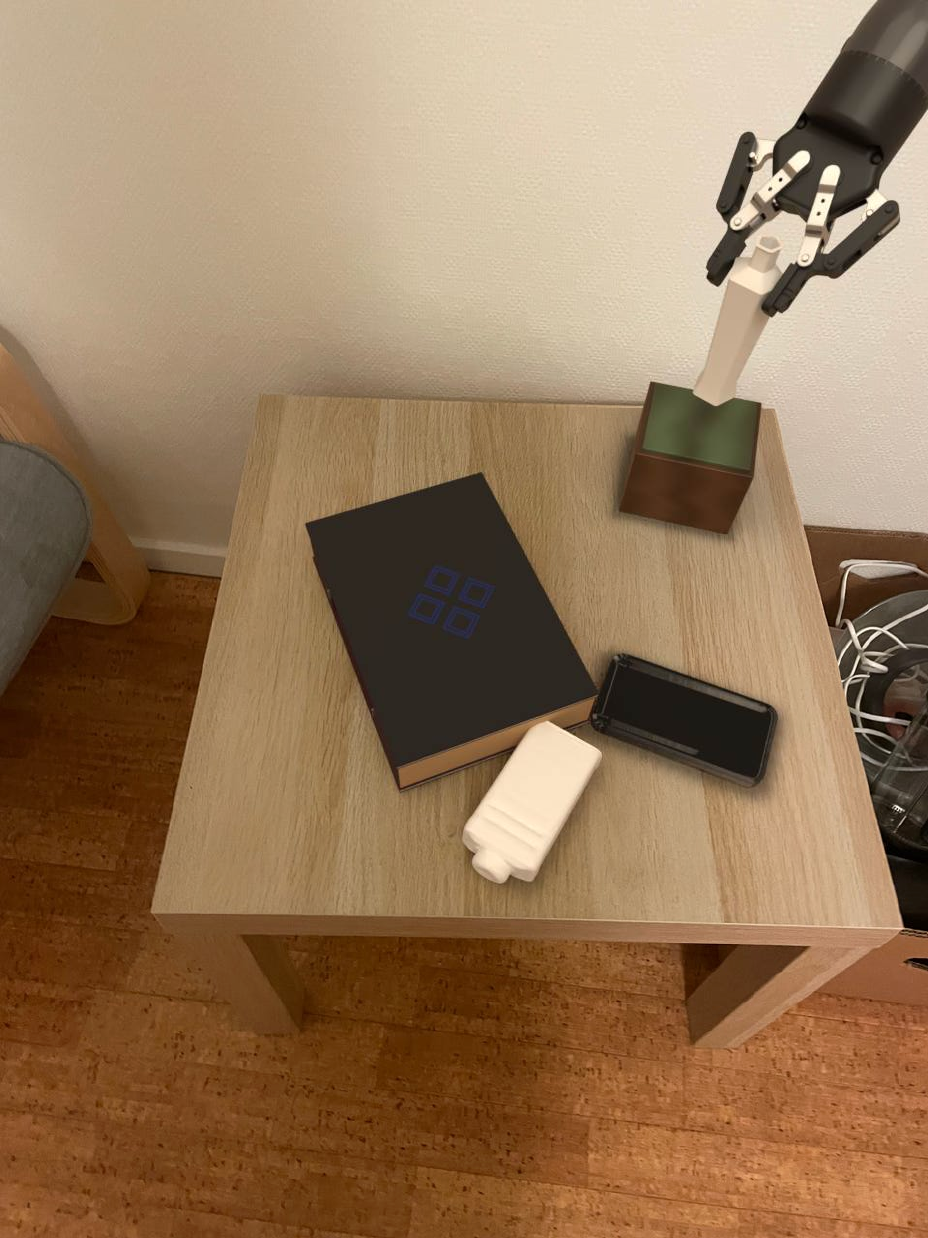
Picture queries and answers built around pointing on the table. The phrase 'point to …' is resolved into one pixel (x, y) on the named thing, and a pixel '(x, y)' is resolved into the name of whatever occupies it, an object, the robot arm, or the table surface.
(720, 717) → the phone
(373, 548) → the book
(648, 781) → the table surface
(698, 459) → the stand
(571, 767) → the white bottle
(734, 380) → the cream faceted bottle shape
